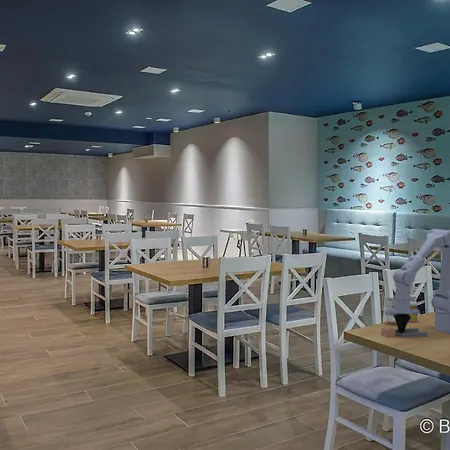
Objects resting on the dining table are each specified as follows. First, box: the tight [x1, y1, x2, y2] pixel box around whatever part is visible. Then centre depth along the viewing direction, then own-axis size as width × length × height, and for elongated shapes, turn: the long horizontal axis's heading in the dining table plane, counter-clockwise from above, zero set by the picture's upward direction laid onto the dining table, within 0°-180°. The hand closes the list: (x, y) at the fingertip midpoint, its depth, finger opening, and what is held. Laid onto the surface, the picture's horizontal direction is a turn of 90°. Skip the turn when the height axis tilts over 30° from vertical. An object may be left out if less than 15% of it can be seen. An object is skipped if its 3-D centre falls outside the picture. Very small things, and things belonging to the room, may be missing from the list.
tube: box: [394, 327, 428, 338], centre depth 206 cm, size 11×6×3 cm, turn 103°
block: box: [380, 326, 396, 338], centre depth 204 cm, size 4×4×4 cm
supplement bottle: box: [407, 294, 419, 324], centre depth 228 cm, size 7×7×13 cm
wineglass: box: [384, 297, 395, 325], centre depth 221 cm, size 7×7×12 cm
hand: (401, 332), depth 204 cm, fingers closed
